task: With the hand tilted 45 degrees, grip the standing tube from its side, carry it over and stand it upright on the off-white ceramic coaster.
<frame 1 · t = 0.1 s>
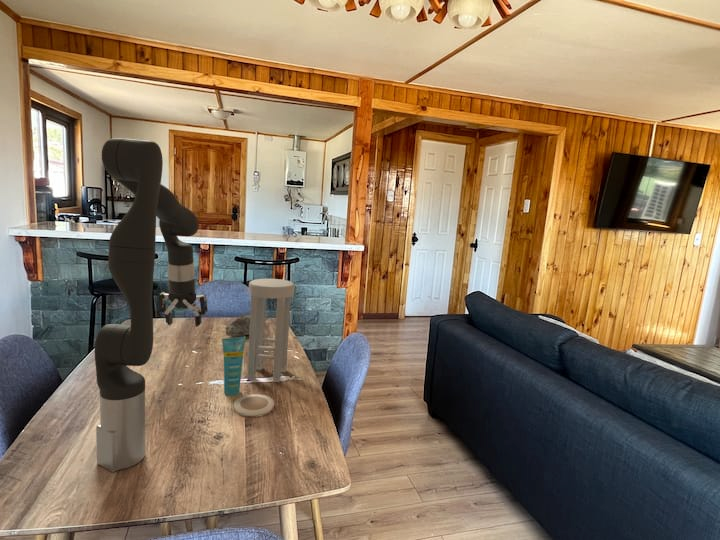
hand: (184, 324, 131), 22 cm above the table, tool pointing down, fingers open, 8 cm apart
stool: (267, 375, 152), on the table
tube: (232, 393, 136), on the table
mineral rock: (239, 335, 193), on the table
coaster: (254, 406, 128), on the table
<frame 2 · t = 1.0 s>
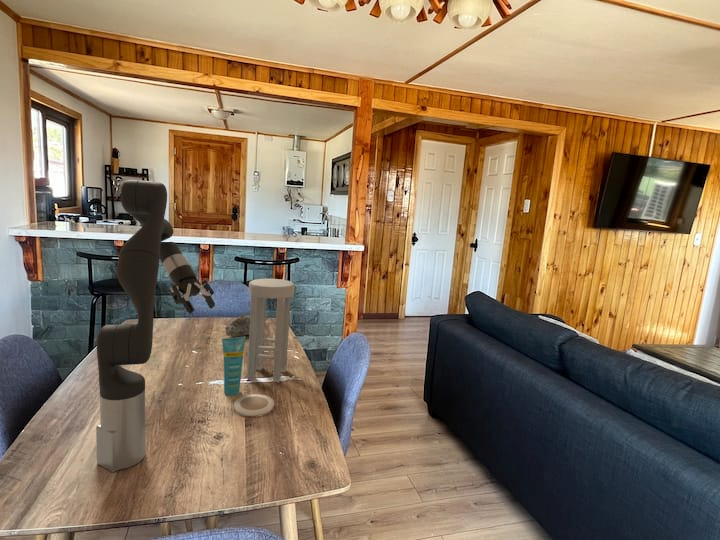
hand: (202, 309, 136), 26 cm above the table, tool tilted 45°, fingers open, 8 cm apart
nothing on the table moved.
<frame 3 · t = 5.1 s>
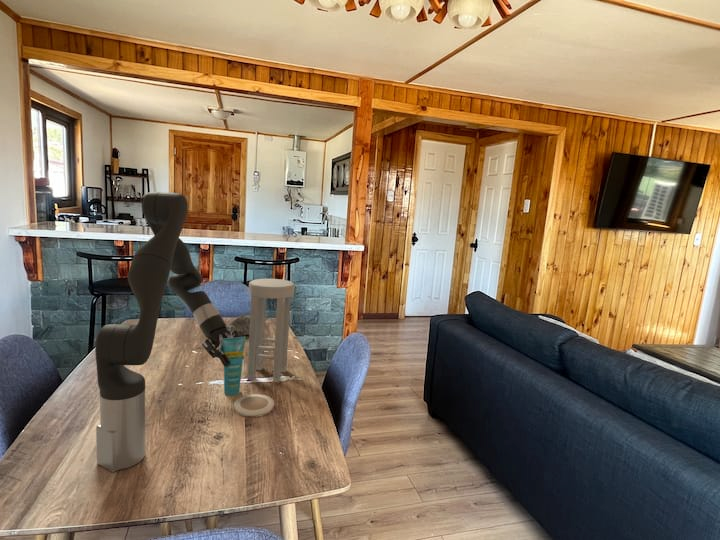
hand: (235, 362, 134), 11 cm above the table, tool tilted 45°, fingers closed on tube, 5 cm apart
tube: (232, 393, 136), on the table, touching gripper
everything else where it was.
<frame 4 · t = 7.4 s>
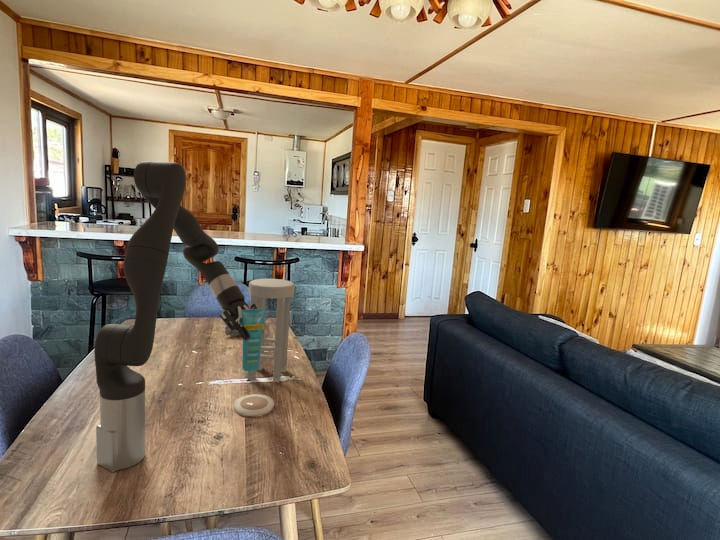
hand: (254, 336, 125), 23 cm above the table, tool tilted 45°, fingers closed on tube, 5 cm apart
tube: (250, 369, 127), point 12 cm above the table, touching gripper
everything else where it was.
when the fingers open (13 cm above the table, at t = 9.9 s): tube drops 1 cm, resting on coaster.
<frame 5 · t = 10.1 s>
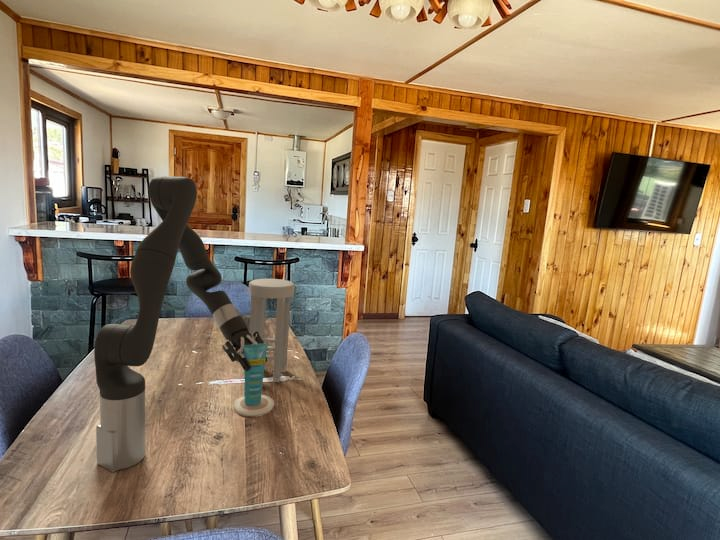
hand: (257, 366, 126), 14 cm above the table, tool tilted 45°, fingers open, 6 cm apart
tube: (253, 403, 128), point 1 cm above the table, touching coaster
everything else where it was.
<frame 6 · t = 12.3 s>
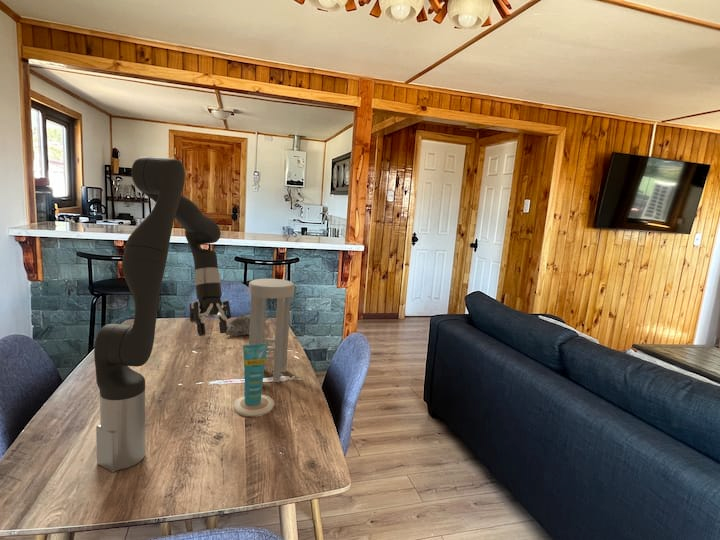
hand: (213, 334, 129), 21 cm above the table, tool tilted 20°, fingers open, 8 cm apart
nothing on the table moved.
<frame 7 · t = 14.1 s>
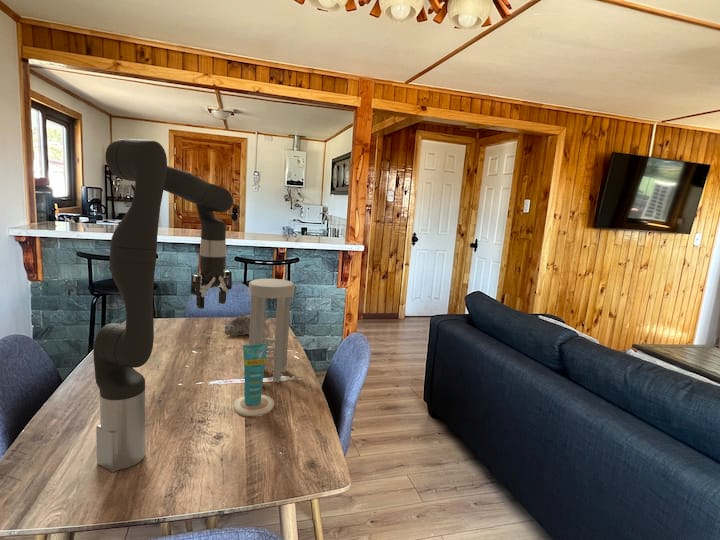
hand: (211, 305, 128), 30 cm above the table, tool pointing down, fingers open, 8 cm apart
nothing on the table moved.
at the end: tube 0.4 cm from the coaster (horizontally); tube tilted 0°; the gripper is holding nothing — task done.
